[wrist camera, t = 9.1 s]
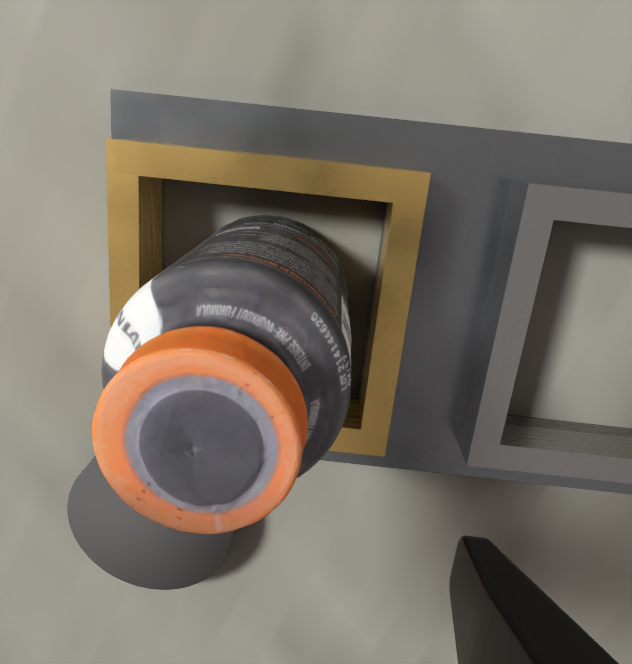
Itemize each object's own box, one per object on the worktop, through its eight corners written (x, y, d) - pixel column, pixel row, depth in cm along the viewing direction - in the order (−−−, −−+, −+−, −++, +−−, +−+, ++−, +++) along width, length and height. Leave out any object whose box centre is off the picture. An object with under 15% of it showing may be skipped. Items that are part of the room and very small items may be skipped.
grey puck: (270, 528, 24) (264, 553, 23) (148, 584, 26) (136, 610, 24) (176, 405, 22) (163, 423, 21) (53, 474, 24) (33, 495, 23)
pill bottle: (160, 273, 21) (-37, 409, 10) (287, 179, 19) (218, 220, 9) (255, 392, 22) (173, 624, 11) (379, 313, 21) (418, 491, 10)
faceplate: (698, 490, 23) (740, 531, 20) (125, 428, 23) (100, 460, 20) (824, 165, 18) (896, 168, 16) (120, 91, 19) (87, 83, 16)
